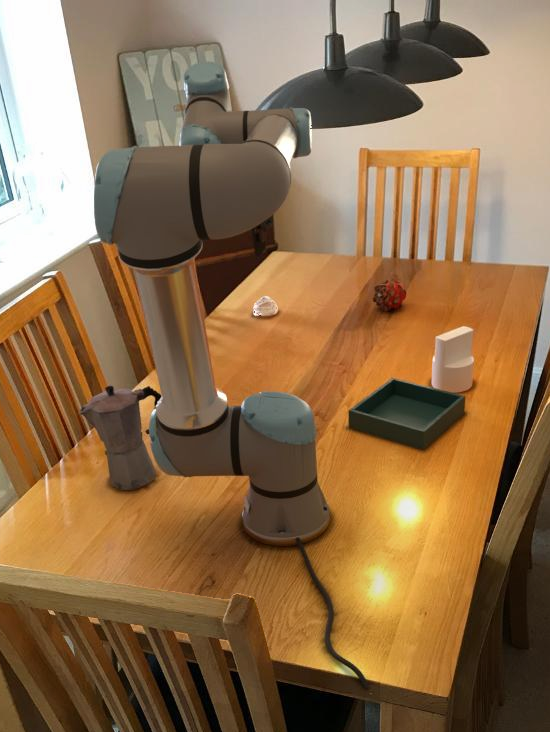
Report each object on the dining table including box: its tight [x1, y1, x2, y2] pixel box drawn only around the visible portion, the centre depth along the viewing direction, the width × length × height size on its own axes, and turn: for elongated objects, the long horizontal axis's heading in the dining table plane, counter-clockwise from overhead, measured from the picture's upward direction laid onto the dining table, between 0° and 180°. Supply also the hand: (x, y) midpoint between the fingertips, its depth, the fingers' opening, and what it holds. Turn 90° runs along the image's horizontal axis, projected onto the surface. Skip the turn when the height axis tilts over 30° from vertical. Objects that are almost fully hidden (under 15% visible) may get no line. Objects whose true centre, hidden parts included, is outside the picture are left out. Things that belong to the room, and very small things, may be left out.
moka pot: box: [78, 385, 162, 491], centre depth 157 cm, size 10×15×20 cm, turn 117°
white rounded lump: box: [252, 295, 279, 317], centre depth 228 cm, size 8×7×5 cm
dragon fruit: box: [372, 278, 407, 312], centre depth 225 cm, size 8×8×12 cm
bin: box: [347, 377, 466, 451], centre depth 174 cm, size 18×18×4 cm
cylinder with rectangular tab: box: [431, 325, 475, 394], centre depth 184 cm, size 9×9×12 cm
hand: (234, 240), depth 173 cm, fingers open, 13 cm apart
